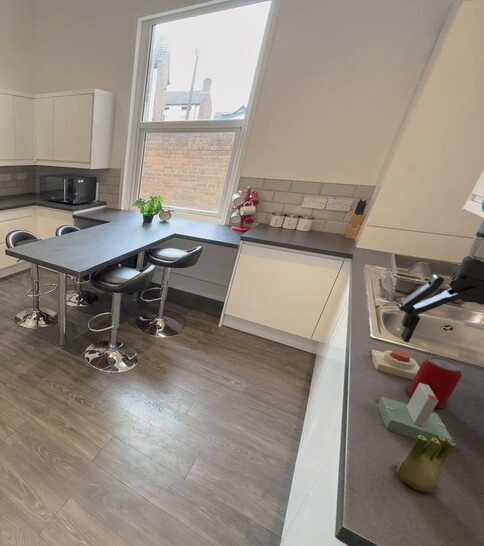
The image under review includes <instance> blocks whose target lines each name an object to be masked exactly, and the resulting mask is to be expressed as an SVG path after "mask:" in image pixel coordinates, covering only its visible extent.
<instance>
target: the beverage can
mask: <svg viewBox="0 0 484 546" xmlns="http://www.w3.org/2000/svg"><path fill="white" fill-rule="evenodd" d="M419 367H420V368H419V370H418V372H417V374H416V376H415V377H414V379H413V380H412V381H411V383H410V385H409V386H408V387H409V388H408V389H407V393H408V395H409V396H410V397H411V398H412V396H413V394H414V392H415V390H416V388H417V387H418V385H419V383H422V384H426V385H429V387H430V388H431V390H432V392H433V393H434V395H435V396H436V397H437V399H438V403H437V404H436V406H435V409H436V408H439V409H440V408H444V406H445V405H446V403H447V402H448V400H449V398H450V397H451V396H452V394H453V392H454V390H455V388H456V387H457V386H458V384H459V382H460V380H461V378H462V376H463V375H462V374H463V373H462V371H461V370H462V369H461V367H460V366H459V365H458V364H457V363H455V362H453V361H451V360H448V359H446V358H441V357H438V356H431V357H429V358H428V359H426V360H423V361H422V363H421V364H420V366H419Z"/></svg>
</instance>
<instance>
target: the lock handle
mask: <svg viewBox="0 0 484 546" xmlns="http://www.w3.org/2000/svg"><path fill="white" fill-rule="evenodd" d="M437 403H438V399H437V397H436V396H435V395H434V393H433V392H432V390H431V388H430V387H429V385H426V384H422V383H419V385H418V387H417V388H416V390H415V392H414V394H413V396H412V397H411V398H410V399H409V402H407V404H408V405H407V409H408V411H409V413H410V415H411V417H412V420H413V422H414V423H415V424H418V425H421V426H424V425H425V423H426V421H427V420H428V418H429V416H430V415H431V413H432V412H434V409H436V407H435V406H436V404H437Z"/></svg>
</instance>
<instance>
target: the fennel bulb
mask: <svg viewBox="0 0 484 546" xmlns="http://www.w3.org/2000/svg"><path fill="white" fill-rule="evenodd" d="M414 440H415V441H414V442H413V444H412V446H411V448H410V449H409V451H408V453H407V454H406V455H405V456H404V457H403V459H401V460H400V462H399V463H398V465H397V468H396V476H397V478H398V479H399V480H400V481H402V482H403V483H405V484H406V485H408V486H409V487H411V488H412V489H413V490H416V491H418V492H421V493H431V492H432V491H433V489H434V488H435V486H436V484H437V482H438V481H439V479H440V476H441V474H442V472H443V470H444V467H445V462H446V460H447V458H448V457H449V455H450V454H451V453H452V451H453V450H454V449H455V448H456V447H457V446H458V445H457V443H456V442H454V441H451V440H445V438H442V437H440V436H438V437H437V439H436V438H432V439H431V440H430V441H429V442H428V443H426V442H427V439H426V438H425V437H423V436H422V435H418V436H417V438H416V439H414Z"/></svg>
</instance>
